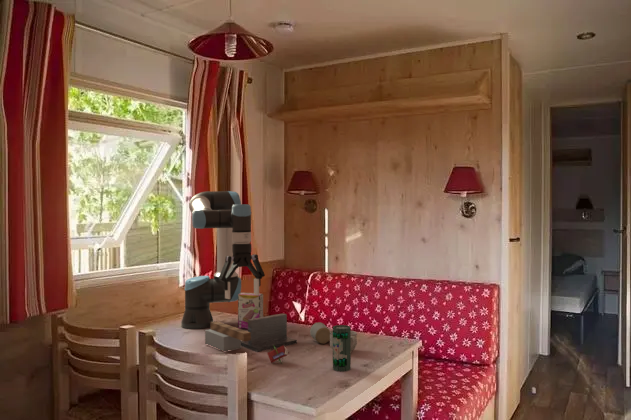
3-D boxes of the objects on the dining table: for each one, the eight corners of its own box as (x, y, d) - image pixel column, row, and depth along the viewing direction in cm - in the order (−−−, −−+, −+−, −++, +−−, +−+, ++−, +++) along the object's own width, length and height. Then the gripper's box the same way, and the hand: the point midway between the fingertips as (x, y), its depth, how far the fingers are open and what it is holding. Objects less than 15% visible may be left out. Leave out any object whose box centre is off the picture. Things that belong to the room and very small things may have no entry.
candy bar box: (237, 328, 251) (237, 294, 250) (241, 326, 255) (241, 292, 255) (259, 330, 248) (259, 295, 247) (263, 327, 252) (263, 293, 252)
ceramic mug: (315, 345, 222) (315, 326, 222) (309, 340, 230) (309, 322, 230) (339, 343, 225) (339, 325, 225) (332, 338, 233) (333, 321, 233)
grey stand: (205, 344, 224) (205, 330, 224) (221, 341, 229) (221, 327, 229) (223, 352, 212) (223, 337, 212) (240, 348, 217) (240, 333, 217)
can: (329, 368, 191) (329, 327, 191) (341, 365, 195) (341, 324, 195) (342, 372, 187) (342, 329, 186) (353, 368, 191) (353, 327, 191)
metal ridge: (238, 345, 223) (238, 317, 222) (277, 336, 236) (277, 311, 235) (257, 352, 212) (257, 323, 212) (296, 343, 225) (296, 316, 225)
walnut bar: (210, 329, 225) (210, 322, 225) (216, 328, 227) (216, 321, 227) (244, 341, 205) (244, 333, 205) (250, 340, 207) (250, 332, 207)
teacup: (325, 349, 216) (325, 329, 216) (350, 346, 220) (350, 327, 220) (339, 359, 203) (339, 338, 203) (365, 356, 207) (365, 335, 207)
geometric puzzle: (265, 360, 194) (278, 342, 195) (261, 355, 200) (274, 337, 201) (280, 371, 195) (293, 352, 197) (276, 365, 202) (289, 347, 203)
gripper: (219, 244, 201) (219, 301, 201) (272, 242, 217) (273, 294, 217) (209, 244, 206) (209, 299, 206) (262, 241, 223) (262, 292, 223)
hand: (242, 296), depth 212 cm, fingers open, 13 cm apart
